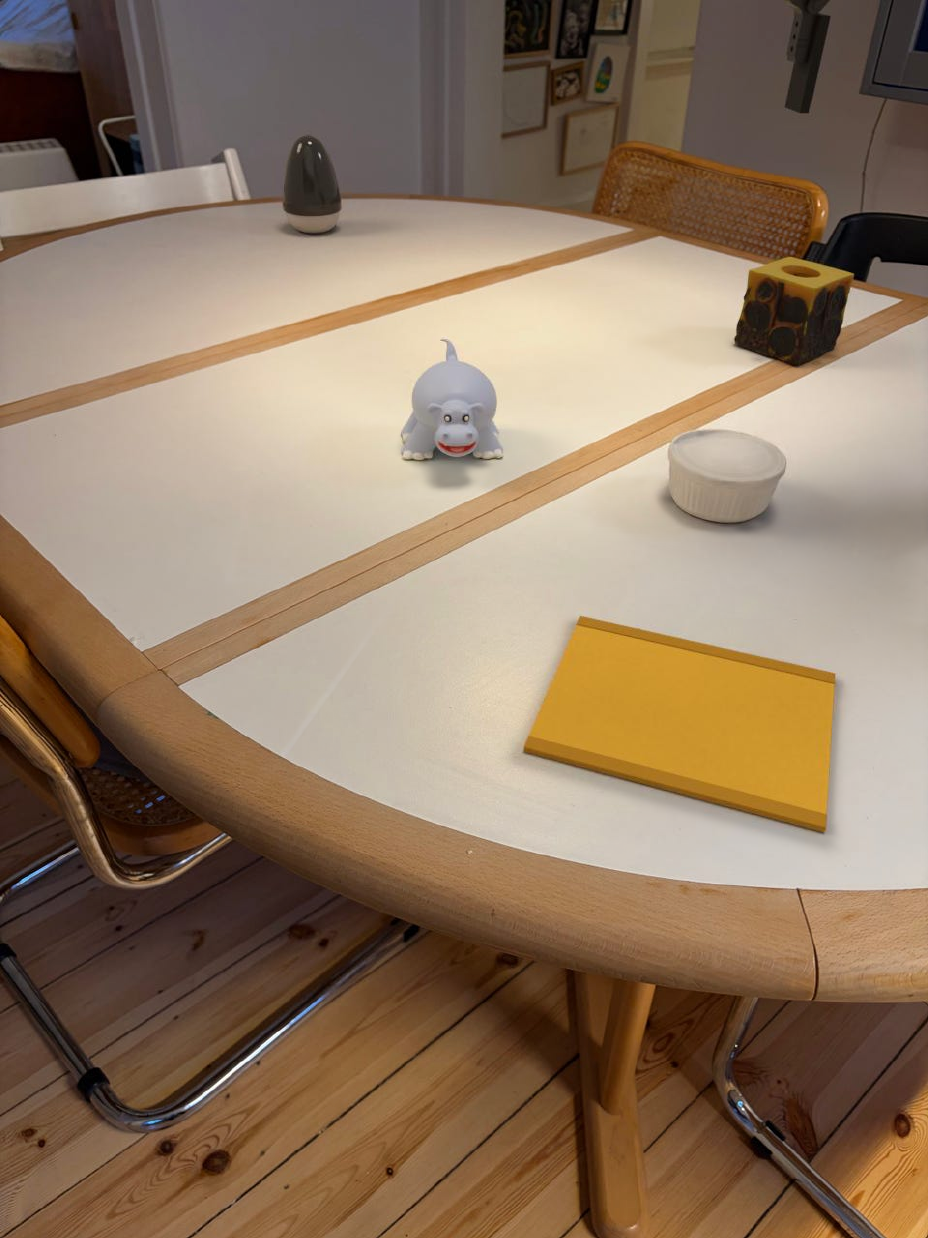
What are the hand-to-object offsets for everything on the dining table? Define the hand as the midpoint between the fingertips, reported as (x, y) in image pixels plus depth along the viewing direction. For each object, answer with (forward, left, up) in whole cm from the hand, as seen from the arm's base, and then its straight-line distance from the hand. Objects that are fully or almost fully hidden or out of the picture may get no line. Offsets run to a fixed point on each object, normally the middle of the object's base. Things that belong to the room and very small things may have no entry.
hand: (873, 110), depth 76 cm
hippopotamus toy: (+33, +7, -34) cm, 48 cm away
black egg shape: (+85, -63, -34) cm, 111 cm away
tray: (+3, +39, -34) cm, 52 cm away
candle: (+2, -38, -34) cm, 51 cm away
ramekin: (+5, +7, -34) cm, 35 cm away
